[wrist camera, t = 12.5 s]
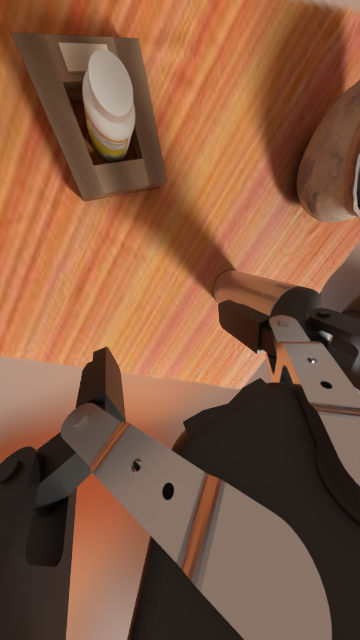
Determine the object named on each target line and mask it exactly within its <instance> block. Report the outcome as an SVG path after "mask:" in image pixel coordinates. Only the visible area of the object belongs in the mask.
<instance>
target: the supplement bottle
mask: <svg viewBox="0 0 360 640" xmlns="http://www.w3.org/2000/svg"><path fill="white" fill-rule="evenodd" d="M82 91H83V101H84V108H85V115H86V122H87V129H88V134H89V138H90V141H91V143H92V145H93V147H94V148H95V150H96V151H97V152H98V153H99V154H100V155H101V156H102V157H103V158H105V159H106V160H108V161H111V162H118V161H121V160H122V159H123V158H124V157H125V156H126V154H127V151H128V147H129V143H130V140H131V136H132V133H133V129H134V125H135V107H134V102H133V88H132V83H131V80H130V77H129V74H128V72H127V70H126V68H125V66H124V65H123V63H122V62H121V61H120V59H119V58H118V57H117V56H116V55H114V54H113V53H112V52H110V51H108V50H105V49H98V50H96V51H95V52H93V54H92V55H91V57H90V59H89V63H88V70H87V71H86V73H85V76H84V79H83V86H82Z"/></svg>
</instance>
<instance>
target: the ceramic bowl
mask: <svg viewBox="0 0 360 640" xmlns="http://www.w3.org/2000/svg"><path fill="white" fill-rule="evenodd" d="M297 193H298V197H299V200H300V203H301V205H302V207H303V209H304V210H305V211H306V212H307V213H308V214H310V215H311V216H312V217H313V218H315V219H317V220H319V221H322V222H339V221H345V220H348V219H352V218H355V217H359V218H360V80H359V81H358V82H357V83H356V84H354V85H353V86H352V87H351V88H349V89H348V90H347V91H346V92H345V93H344V94H343V95H342V96H341V97H340V98H339V99H338V100H337V101H336V103H335V104H334V105H333V106H332V107H331V108H330V110H329V111H328V112H327V113H326V115H325V116H324V118H323V119H322V120H321V122H320V124H319V125H318V127H317V128H316V130H315V132H314V134H313V136H312V137H311V139H310V142H309V143H308V145H307V147H306V149H305V151H304V154H303V156H302V159H301V163H300V166H299V169H298V175H297Z"/></svg>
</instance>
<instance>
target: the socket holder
mask: <svg viewBox="0 0 360 640" xmlns="http://www.w3.org/2000/svg"><path fill="white" fill-rule="evenodd" d="M11 34H12V36H13V39H14V41H15V43H16V46H17V48H18V50H19V53H20V55H21V57H22V59H23V62H24V64H25V66H26V69H27V71H28V73H29V76H30V78H31V80H32V83H33V85H34V87H35V89H36V92H37V94H38V96H39V99H40V101H41V103H42V106H43V108H44V110H45V112H46V115H47V117H48V119H49V122H50V124H51V126H52V129H53V131H54V133H55V135H56V138H57V140H58V142H59V145H60V147H61V149H62V152H63V154H64V156H65V158H66V161H67V163H68V165H69V168H70V170H71V172H72V175H73V177H74V179H75V181H76V184H77V186H78V188H79V191H80V193H81V195H82V197H83V199H84V201H90V200H95V199H100V198H105V197H110V196H115V195H121V194H126V193H131V192H136V191H141V190H146V189H152V188H157V187H161V186H163V185H164V184H165V183H166V182H167V179H166V174H165V169H164V164H163V159H162V154H161V149H160V144H159V139H158V134H157V129H156V124H155V119H154V114H153V108H152V103H151V98H150V93H149V88H148V83H147V78H146V73H145V68H144V63H143V58H142V53H141V48H140V43H139V38H122V37H101V36H80V35H59V34H38V33H16V32H11ZM98 49H105V50H108V51H110V52H112V53H113V54H114V55H116V56H117V57H118V58H119V59H120V61H121V62H122V63H123V65H124V66H125V68H126V70H127V72H128V74H129V77H130V80H131V83H132V88H133V102H134V107H135V125H134V129H133V133H132V136H131V137H132V141H133V145H134V149H135V152H136V156H137V159H136V160H129V161H122V162H115V163H108V164H101V165H93V163H92V160H91V157H90V154H89V152H88V149H87V146H86V144H85V141H84V138H83V136H82V133H81V130H80V128H79V125H78V122H77V120H76V117H75V114H74V112H73V109H72V106H71V103H70V101H76V100H83V91H82V86H83V79H84V76H85V73H86V71H87V70H88V63H89V59H90V57H91V55H92V54H93V52H95V51H96V50H98Z"/></svg>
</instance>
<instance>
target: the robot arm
mask: <svg viewBox="0 0 360 640" xmlns="http://www.w3.org/2000/svg"><path fill="white" fill-rule="evenodd" d="M213 294H214V297H215V299H216V300H217V301H218V302H219V305H218V310H219V322H220V325H221V326H222V328H223V329H224V330H226V331H227V332H228V333H230V334H231V335H232V336H234V337H235V338H236V339H238V340H239V341H240V342H242V343H243V344H244V345H246V346H247V347H248V348H250V349H251V350H252V351H254V352H255V353H256V354H258V353H260V352H262V351H265V352H266V354H265V356H266V360H267V364H268V368H269V371H270V375H271V379H272V383H265V382H264V381H263V380H262V379H261V378H259V379H257V380H256V381H254V382H252V383H250V384H249V385H247V386H245V387H243V388H242V389H241V391H240V392H239V393H238V394H237V395H236V396H235V397H234V398H233V399H232V400H231V401H230V402H229V403H228V404H225V405H221V406H217V407H214V408H210V409H206V410H203V411H201V412H200V413H198V414H196V415H194V416H193V417H191V418H189V419H187V420H186V421H184V422H183V424H184V426H185V430H184V431H183V433H182V434H181V435H180V436H179V438H178V439H177V440H176V442H175V444H174V446H173V448H172V450H170V449H168V448H167V447H165V446H164V445H162V444H161V443H159V442H158V441H156V440H154V439H153V438H152V437H150V436H148V435H147V434H145V433H144V432H142V431H141V430H139V429H138V428H136V427H134V426H133V425H132V424H130V423H128V422H125V421H126V419H125V409H124V400H123V391H122V381H121V372H120V369H119V366H118V364H117V362H116V360H115V359H114V357H113V355H112V353H111V352H110V350H109V348H108V347H105V348H102V349H99V350H97V351H94V353H93V361H92V362H89V363H87V365H86V366H85V368H84V369H83V371H82V376H81V382H80V388H79V392H78V398H77V403H76V409H75V410H73V411H72V412H71V413H70V414H69V415H68V417H67V418H66V419H65V421H64V422H63V425H62V427H61V432H60V433H59V434H57V435H56V436H55V437H53V438H52V439H51V440H50V441H48V442H47V443H46V444H44V445H43V446H42V447H40V448H39V449H38V450H36V449H34V448H33V447H24V448H21V449H19V450H17V451H16V452H14V453H13V454H11V455H10V456H9V457H7V458H6V459H5V460H4V461H3V462H2V463H1V464H0V640H66V628H67V614H68V600H69V586H70V574H71V559H72V546H73V531H74V518H75V505H76V491H77V487H78V486H79V485H80V484H81V483H82V482H83V480H85V479H86V478H87V477H88V476H89V475H90V474H91V473H93V474H94V475H95V476H96V477H97V478H98V479H99V480H100V482H101V483H102V484H103V485H104V486H105V487H106V488H107V489H108V490H109V491H110V492H111V493H112V494H113V496H114V497H115V498H116V499H117V500H118V501H119V502H120V503H121V504H122V505H123V506H124V507H125V508H126V509H127V511H128V512H129V513H130V514H131V515H132V516H133V517H134V518H135V519H136V520H137V521H138V522H139V523H140V524H141V526H143V528H144V529H145V530H146V531H147V532H148V533H149V534H150V535H151V536H150V541H149V545H148V549H147V554H146V558H145V563H144V567H143V572H142V576H141V581H140V585H139V590H138V594H137V598H136V603H135V607H134V612H133V616H132V620H131V625H130V629H129V634H128V639H127V640H360V394H359V393H358V391H357V390H356V389H355V388H357V389H359V390H360V295H359V296H358V297H356V298H355V299H354V300H353V301H352V302H351V303H350V304H349V305H348V306H347V307H346V308H345V310H344V311H343V312H342V313H339V312H336V311H333V310H330V309H324V308H321V297H320V295H319V294H318V292H316V291H315V290H313V289H309V288H305V287H301V286H297V285H293V284H288V283H284V282H280V281H276V280H271V279H267V278H263V277H259V276H255V275H251V274H247V273H243V272H239V271H234V270H228V271H225V272H224V273H222V274H221V275H220V276H219V277H218V278H217V280H216V282H215V285H214V289H213ZM123 422H125V423H123Z"/></svg>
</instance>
